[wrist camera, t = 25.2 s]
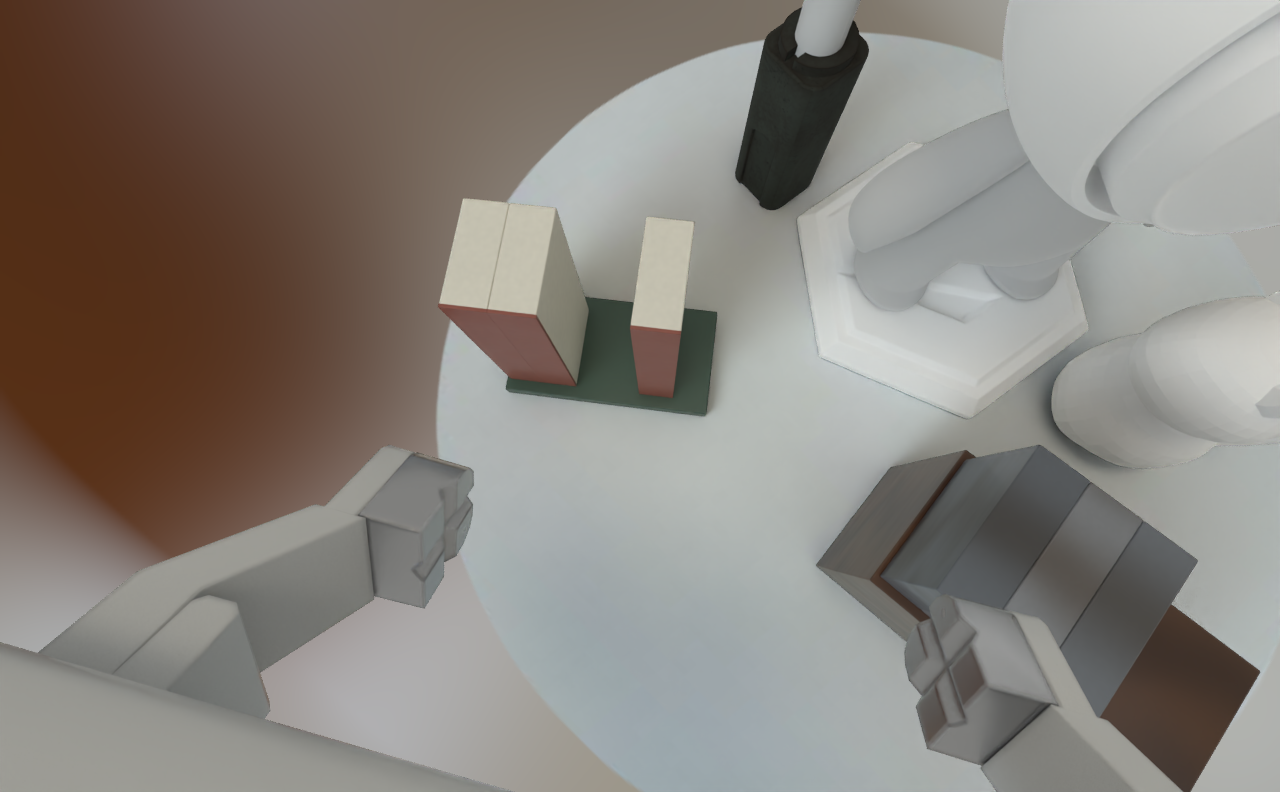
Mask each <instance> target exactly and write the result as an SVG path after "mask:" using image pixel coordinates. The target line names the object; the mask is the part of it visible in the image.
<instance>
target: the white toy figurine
mask: <svg viewBox="0 0 1280 792" xmlns="http://www.w3.org/2000/svg"><path fill="white" fill-rule="evenodd" d="M1003 78H1004V87H1005V94H1006V99H1007V104H1008V109H1007V110H1004V111H1001V112H998V113H995V114H992V115H989V116H986V117H984V118H981V119H979V120H976V121H974V122H971V123H969V124H967V125H965V126H962V127H960V128H958V129H956V130H954V131H952V132H950V133H947V134H945V135H943V136H941V137H939V138H937V139H935V140H934V141H932V142H930V143H928V144H926V145H922V144H918V143H912V142H909V143H907V144H906V145H904V146H903V147H901V148H900V149H898V150H897V151H895V152H894V153H892V154H891V155H889V156H888V157H886V158H885V159H883V160H882V161H880V162H879V163H877V164H876V165H874V166H873V167H871V168H870V169H868V170H867V171H865V172H864V173H862V174H861V175H860V176H858V177H857V178H855V179H854V180H852V181H851V182H849V183H848V184H846V185H845V186H843V187H842V188H840V189H839V190H837V191H836V192H834V193H833V194H831V195H830V196H828V197H827V198H825V199H824V200H822V201H821V202H819V203H818V204H816V205H815V206H813V207H812V208H810V209H809V210H807V211H806V212H804V213H803V214H801V215H800V216H799V217H798V218H797V227H798V233H799V239H800V245H801V251H802V257H803V263H804V269H805V275H806V281H807V288H808V294H809V300H810V306H811V312H812V318H813V324H814V330H815V336H816V342H817V348H818V353H819V357H821V358H823V359H825V360H828V361H830V362H832V363H835V364H837V365H839V366H842V367H844V368H847V369H849V370H851V371H854V372H856V373H858V374H861V375H863V376H865V377H868V378H870V379H873V380H875V381H877V382H880V383H882V384H884V385H887V386H889V387H891V388H894V389H896V390H899V391H901V392H903V393H906V394H908V395H910V396H913V397H915V398H918V399H920V400H922V401H925V402H927V403H929V404H932V405H934V406H936V407H939V408H941V409H944V410H946V411H948V412H951V413H953V414H955V415H958V416H960V417H963V418H965V419H970V418H972V417H974V416H975V415H976V414H978V413H979V412H981V411H982V410H983V409H985V408H986V407H987V406H989V405H990V404H991V403H993V402H994V401H995V400H997V399H998V398H999V397H1001V396H1002V395H1003V394H1005V393H1006V392H1007V391H1009V390H1010V389H1011V388H1013V387H1014V386H1015V385H1017V384H1018V383H1019V382H1021V381H1022V380H1023V379H1025V378H1026V377H1027V376H1029V375H1030V374H1031V373H1033V372H1034V371H1035V370H1037V369H1038V368H1039V367H1041V366H1042V365H1043V364H1045V363H1046V362H1047V361H1049V360H1050V359H1051V358H1053V357H1054V356H1055V355H1057V354H1058V353H1059V352H1061V351H1062V350H1063V349H1065V348H1066V347H1067V346H1069V345H1070V344H1071V343H1073V342H1074V341H1075V340H1077V339H1078V338H1079V337H1081V336H1082V335H1083V334H1085V333H1086V332H1087V331H1088V323H1087V318H1086V314H1085V311H1084V307H1083V304H1082V300H1081V297H1080V293H1079V290H1078V286H1077V283H1076V279H1075V276H1074V272H1073V269H1072V265H1071V262H1070V258H1071V257H1072V256H1074V255H1075V254H1076V253H1077V252H1078V251H1079V250H1081V249H1082V248H1083V247H1084V246H1085V245H1086V244H1088V243H1089V242H1090V241H1091V240H1092V239H1093V238H1095V237H1096V236H1097V235H1098V234H1099V233H1101V232H1102V231H1103V230H1104V229H1105V228H1106V227H1107V226H1108V225H1109V224H1110V223H1111V222H1115V223H1130V224H1141V223H1143V224H1144V225H1145V226H1147V227H1152V226H1156V227H1157V228H1159V229H1161V230H1163V231H1165V232H1169V233H1173V234H1180V235H1217V234H1227V233H1236V232H1243V231H1250V230H1256V229H1262V228H1267V227H1273V226H1278V225H1280V0H1009V2H1008V8H1007V13H1006V19H1005V28H1004V37H1003Z"/></svg>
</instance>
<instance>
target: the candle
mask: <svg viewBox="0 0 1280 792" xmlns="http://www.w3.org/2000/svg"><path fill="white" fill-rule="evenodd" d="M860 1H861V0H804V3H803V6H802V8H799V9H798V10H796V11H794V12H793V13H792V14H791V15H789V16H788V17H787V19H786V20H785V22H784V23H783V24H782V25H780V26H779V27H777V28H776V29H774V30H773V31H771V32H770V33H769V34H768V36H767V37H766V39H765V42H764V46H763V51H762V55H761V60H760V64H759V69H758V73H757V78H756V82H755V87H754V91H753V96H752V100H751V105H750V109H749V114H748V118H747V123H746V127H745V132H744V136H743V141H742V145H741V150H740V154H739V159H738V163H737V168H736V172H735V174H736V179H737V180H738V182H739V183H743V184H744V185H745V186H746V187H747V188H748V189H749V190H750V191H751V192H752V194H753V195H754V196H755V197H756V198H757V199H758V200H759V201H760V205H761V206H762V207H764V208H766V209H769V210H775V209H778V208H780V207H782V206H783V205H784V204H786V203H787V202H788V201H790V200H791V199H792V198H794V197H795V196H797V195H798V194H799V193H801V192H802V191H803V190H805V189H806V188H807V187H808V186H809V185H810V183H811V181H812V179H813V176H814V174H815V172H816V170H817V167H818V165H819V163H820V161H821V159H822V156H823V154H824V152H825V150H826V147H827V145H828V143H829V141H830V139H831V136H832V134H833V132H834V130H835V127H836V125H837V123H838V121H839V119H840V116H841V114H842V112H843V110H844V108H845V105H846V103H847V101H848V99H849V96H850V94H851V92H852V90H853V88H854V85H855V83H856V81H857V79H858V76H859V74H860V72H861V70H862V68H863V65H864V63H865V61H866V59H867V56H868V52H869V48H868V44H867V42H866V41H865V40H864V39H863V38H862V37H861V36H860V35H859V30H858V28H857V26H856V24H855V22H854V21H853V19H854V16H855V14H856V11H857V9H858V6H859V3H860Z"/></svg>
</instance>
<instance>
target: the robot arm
mask: <svg viewBox="0 0 1280 792" xmlns="http://www.w3.org/2000/svg"><path fill="white" fill-rule="evenodd" d="M473 486H474V471H473V470H472V469H471V468H469V467H465V466H462V465H458V464H455V463H452V462H448V461H445V460H441V459H438V458H435V457H431V456H428V455H424V454H421V453H415V452H412V451H408V450H405V449H401V448H398V447H395V446H391V445H388V446H386V447H383V448H381V449H380V450H379V451H378V452H377V453H376V454H375V455H374V456H373V457H372V458H371V459H370V460H369V461H368V462H367V463H366V464H365V465H364V466H363V467H362V468H361V469H360V470H359V471H358V472H357V473H356V474H355V475H354V476H353V478H351V480H349V481H348V482H347V484H346V485H345V486H344V487H343V488H342V489H341V490H340V491H339V492H338V493H337V494H336V495H335V496H334V497H333V498H332V499H331V500H330V501H329V502H328V503H327V504H326V505H325V506H320V505H316V504H315V505H312V506H310V507H307V508H304V509H302V510H299V511H297V512H294V513H291V514H288V515H286V516H283V517H280V518H278V519H275V520H272V521H270V522H267V523H265V524H262V525H259V526H256V527H254V528H252V529H249V530H246V531H243V532H240V533H238V534H235V535H232V536H230V537H227V538H224V539H222V540H219V541H216V542H214V543H211V544H208V545H206V546H203V547H200V548H198V549H195V550H193V551H190V552H187V553H185V554H182V555H179V556H177V557H174V558H171V559H169V560H166V561H163V562H161V563H158V564H155V565H153V566H150V567H147V568H145V569H142V570H140V571H137V572H136V573H135V574H133V575H132V576H131V577H130V578H128V579H127V580H126V581H125V582H124V583H122V584H121V585H120V586H119V587H117V588H116V589H115V590H114V591H113V592H111V593H110V594H109V595H108V596H107V597H105V598H104V599H103V600H102V601H100V602H99V603H98V604H97V605H96V606H94V607H93V608H92V609H91V610H89V611H88V612H87V613H86V614H85V615H83V616H82V617H81V618H80V619H78V620H77V621H76V622H75V623H74V624H72V625H71V626H70V627H69V628H67V629H66V630H65V631H64V632H63V633H61V634H60V635H59V636H58V637H56V638H55V639H54V640H53V641H52V642H50V643H49V644H48V645H47V646H46V647H44V648H43V649H42V650H41V651H39V652H38V653H35V652H32V651H29V650H25V649H22V648H19V647H15V646H12V645H8V644H4V643H2V642H0V792H513V791H509V790H506V789H503V788H499V787H496V786H492V785H489V784H486V783H482V782H479V781H475V780H471V779H468V778H465V777H461V776H458V775H455V774H451V773H448V772H444V771H441V770H437V769H434V768H431V767H427V766H424V765H420V764H417V763H413V762H410V761H406V760H403V759H400V758H396V757H392V756H389V755H386V754H382V753H379V752H376V751H372V750H369V749H365V748H362V747H358V746H355V745H352V744H348V743H344V742H341V741H338V740H334V739H331V738H328V737H324V736H321V735H317V734H313V733H310V732H307V731H303V730H300V729H297V728H293V727H290V726H286V725H283V724H280V723H276V722H273V721H269V720H266V719H265V717H266V716H267V714H268V713H269V712H270V704H269V698H268V695H267V693H266V690H265V687H264V684H263V680H262V677H261V675H260V672H262V671H263V670H265V669H266V668H268V667H269V666H271V665H273V664H274V663H276V662H277V661H279V660H281V659H282V658H283V657H285V656H287V655H288V654H290V653H291V652H293V651H295V650H296V649H298V648H299V647H301V646H302V645H304V644H305V643H307V642H309V641H310V640H312V639H313V638H315V637H316V636H318V635H319V634H321V633H322V632H324V631H326V630H327V629H329V628H330V627H332V626H334V625H335V624H337V623H338V622H340V621H341V620H343V619H344V618H346V617H347V616H349V615H351V614H352V613H354V612H355V611H357V610H358V609H360V608H362V607H363V606H365V605H366V604H368V603H369V602H371V601H372V600H374V596H376V597H380V598H384V599H388V600H392V601H396V602H400V603H404V604H408V605H412V606H416V607H420V608H425V607H426V605H427V604H428V602H429V600H430V599H431V597H432V595H433V594H434V592H435V590H436V589H437V587H438V586H439V584H440V582H441V581H442V579H443V577H444V562H446V561H448V560H449V559H451V558H453V557H455V556H457V554H458V552H459V550H460V549H461V547H462V545H463V543H464V541H465V539H466V536H467V533H468V531H469V528H470V524H471V519H472V515H473V504H472V502H471V501H470V499H469V498H468V496H467V495H468V494H469V492H470V491H471V489H472V487H473ZM929 610H930V613H931V617H932V618H930V619H927V620H925V621H922V622H919V623H917V624H916V625H915V627H914V628H913V630H912V631H911V633H910V634H909V635H908V639H907V643H906V648H905V666H906V670H907V674H908V678H909V681H910V682H911V683H912V684H913V686H914V687H915V688H916V689H917V691H918V692H919V693H920V694H921V695H922V696H921V698H920V700H919V702H918V704H917V705H916V709H917V713H918V716H919V720H920V724H921V727H922V731H923V735H924V739H925V742H926V746H927V749H930V750H933V751H936V752H939V753H943V754H946V755H949V756H952V757H956V758H959V759H962V760H965V761H969V762H972V763H975V764H978V765H982V767H981V770H982V771H983V773H984V774H985V775H986V777H987V778H988V780H989V781H990V783H991V784H992V785H993V787H994V788H995V790H996V791H997V792H1183V791H1182V790H1181V789H1180V788H1179V787H1178V786H1177V785H1176V784H1174V783H1173V782H1172V781H1171V780H1170V779H1169V778H1168V777H1167V776H1166V775H1165V774H1164V773H1163V772H1162V771H1161V770H1160V769H1159V768H1157V767H1156V766H1155V765H1154V764H1153V763H1152V762H1151V761H1150V760H1149V759H1148V758H1147V757H1146V756H1145V755H1144V754H1143V753H1142V752H1141V751H1139V750H1138V749H1137V748H1136V747H1135V746H1134V745H1133V744H1132V743H1131V742H1130V741H1129V740H1128V739H1127V738H1126V737H1125V736H1124V735H1122V734H1121V733H1120V732H1119V731H1118V730H1117V729H1116V728H1115V727H1114V726H1113V725H1112V724H1111V723H1110V722H1109V721H1108V720H1105V719H1102V718H1098V717H1097V716H1096V715H1095V713H1094V711H1093V709H1092V707H1091V705H1090V704H1089V702H1088V700H1087V698H1086V696H1085V694H1084V693H1083V691H1082V689H1081V687H1080V685H1079V683H1078V681H1077V680H1076V678H1075V676H1074V674H1073V672H1072V670H1071V669H1070V667H1069V665H1068V663H1067V661H1066V659H1065V657H1064V656H1063V654H1062V652H1061V650H1060V648H1059V646H1058V645H1057V643H1056V641H1055V639H1054V637H1053V635H1052V634H1051V632H1050V630H1049V628H1048V626H1047V625H1046V624H1045V623H1044V622H1043V621H1042V620H1041V619H1039V618H1038V617H1034V616H1030V615H1026V614H1022V613H1018V612H1014V611H1010V610H1003V609H1001V608H998V607H994V606H990V605H986V604H982V603H978V602H974V601H970V600H967V599H963V598H959V597H955V596H951V595H947V594H943V595H941V596H939V597H937V598H936V599H935V600H934V601H933V603H932V604H931V605H930V606H929Z"/></svg>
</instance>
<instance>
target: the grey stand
mask: <svg viewBox="0 0 1280 792" xmlns="http://www.w3.org/2000/svg"><path fill="white" fill-rule="evenodd" d="M1197 562H1198V560H1197V559H1196V558H1194V557H1193V556H1192V555H1190V554H1189V553H1187V552H1186V551H1185V550H1183V549H1182V548H1181V547H1179V546H1178V545H1176V544H1175V543H1174V542H1172V541H1171V540H1170V539H1168V538H1167V537H1166V536H1164V535H1163V534H1161V533H1160V532H1159V531H1157V530H1156V529H1155V528H1153V527H1152V526H1151V525H1149V524H1148V523H1146V522H1144V521H1143V520H1142V519H1141V518H1140V517H1138V516H1137V515H1135V514H1134V513H1133V512H1131V511H1130V510H1129V509H1127V508H1126V507H1125V506H1123V505H1122V504H1120V503H1119V502H1118V501H1116V500H1115V499H1114V498H1112V497H1111V496H1109V495H1108V494H1107V493H1105V492H1104V491H1103V490H1101V489H1100V488H1099V487H1097V486H1096V485H1094V484H1093V483H1091V482H1090V481H1089V480H1088V479H1086V478H1085V477H1084V476H1082V475H1081V474H1080V473H1078V472H1077V471H1075V470H1074V469H1073V468H1071V467H1070V466H1069V465H1067V464H1066V463H1064V462H1063V461H1062V460H1060V459H1059V458H1058V457H1056V456H1055V455H1054V454H1052V453H1051V452H1049V451H1048V450H1047V449H1045V448H1044V447H1043V446H1041V445H1036V446H1031V447H1026V448H1022V449H1017V450H1012V451H1007V452H1002V453H997V454H992V455H987V456H982V457H977V458H976V457H975V456H974V455H972V454H971V453H970V452H968V451H967V450H964V451H960V452H956V453H951V454H947V455H943V456H938V457H934V458H930V459H926V460H921V461H917V462H913V463H908V464H904V465H900V466H895V467H891V468H890V469H889V470H888V471H887V473H886V474H885V475H884V477H883V478H882V479H881V481H880V482H879V483H878V485H877V486H876V487H875V489H874V490H873V491H872V492H871V494H870V495H869V496H868V498H867V499H866V500H865V502H864V503H863V504H862V506H861V507H860V508H859V509H858V511H857V512H856V513H855V515H854V516H853V517H852V519H851V520H850V521H849V523H848V524H847V525H846V527H845V528H844V529H843V530H842V532H841V533H840V534H839V536H838V537H837V538H836V540H835V541H834V542H833V544H832V545H831V546H830V548H829V549H828V550H827V551H826V553H825V554H824V555H823V557H822V558H821V559H820V561H819V562H818V563H817V565H816V566H817V567H818V568H819V569H821V570H822V571H823V572H824V573H825V574H826V575H828V576H829V577H830V578H831V579H832V580H834V581H835V582H836V583H837V584H838V585H840V586H841V587H842V588H843V589H844V590H846V591H847V592H848V593H849V594H850V595H852V596H853V597H854V598H855V599H856V600H857V601H859V602H860V603H861V604H862V605H863V606H865V607H866V608H867V609H868V610H869V611H871V612H872V613H873V614H874V615H875V616H877V617H878V618H879V619H880V620H881V621H883V622H884V623H885V624H886V625H887V626H888V627H890V628H891V629H892V630H893V631H894V632H896V633H897V634H898V635H899V636H900V637H902V638H903V639H904V640H905V641H906V642H907V639H908V635H909V634H910V633H911V631H912V630H913V628H914V627H915V625H916V624H917V623H919V622H922V621H925V620H927V619H930V618H932V617H931V613H930V610H929V606H930V605H931V604H932V603H933V601H934V600H935V599H936V598H937V597H939V596H941V595H943V594H947V595H951V596H955V597H959V598H963V599H967V600H970V601H974V602H978V603H982V604H986V605H990V606H994V607H998V608H1001V609H1003V610H1010V611H1014V612H1018V613H1022V614H1026V615H1030V616H1034V617H1038V618H1039V619H1041V620H1042V621H1043V622H1044V623H1045V624H1046V625H1047V626H1048V628H1049V630H1050V632H1051V634H1052V635H1053V637H1054V639H1055V641H1056V643H1057V645H1058V646H1059V648H1060V650H1061V652H1062V654H1063V656H1064V657H1065V659H1066V661H1067V663H1068V665H1069V667H1070V669H1071V670H1072V672H1073V674H1074V676H1075V678H1076V680H1077V681H1078V683H1079V685H1080V687H1081V689H1082V691H1083V693H1084V694H1085V696H1086V698H1087V700H1088V702H1089V704H1090V705H1091V707H1092V709H1093V711H1094V713H1095V715H1096V716H1097V717H1098V718H1102V719H1105V720H1108V721H1109V722H1110V723H1111V724H1112V725H1113V726H1114V727H1115V728H1116V729H1117V730H1118V731H1119V732H1120V733H1121V734H1122V735H1124V736H1125V737H1126V738H1127V739H1128V740H1129V741H1130V742H1131V743H1132V744H1133V745H1134V746H1135V747H1136V748H1137V749H1138V750H1139V751H1141V752H1142V753H1143V754H1144V755H1145V756H1146V757H1147V758H1148V759H1149V760H1150V761H1151V762H1152V763H1153V764H1154V765H1155V766H1156V767H1157V768H1159V769H1160V770H1161V771H1162V772H1163V773H1164V774H1165V775H1166V776H1167V777H1168V778H1169V779H1170V780H1171V781H1172V782H1173V783H1174V784H1176V785H1177V786H1178V787H1179V788H1180V789H1181V790H1182V791H1183V792H1190V791H1191V790H1192V788H1193V786H1194V785H1195V783H1196V781H1197V780H1198V778H1199V776H1200V774H1201V773H1202V771H1203V769H1204V768H1205V766H1206V764H1207V762H1208V761H1209V759H1210V757H1211V756H1212V754H1213V752H1214V750H1215V749H1216V747H1217V745H1218V744H1219V742H1220V740H1221V738H1222V737H1223V735H1224V733H1225V732H1226V730H1227V728H1228V727H1229V725H1230V723H1231V721H1232V720H1233V718H1234V716H1235V715H1236V713H1237V711H1238V709H1239V708H1240V706H1241V704H1242V703H1243V701H1244V699H1245V697H1246V696H1247V694H1248V692H1249V691H1250V689H1251V687H1252V686H1253V684H1254V682H1255V680H1256V679H1257V677H1258V675H1259V674H1260V671H1259V670H1258V669H1257V668H1255V667H1254V666H1253V665H1251V664H1250V663H1249V662H1247V661H1246V660H1245V659H1243V658H1242V657H1241V656H1239V655H1238V654H1237V653H1235V652H1234V651H1233V650H1231V649H1230V648H1229V647H1227V646H1226V645H1225V644H1223V643H1222V642H1221V641H1219V640H1218V639H1217V638H1215V637H1214V636H1213V635H1211V634H1210V633H1209V632H1207V631H1206V630H1205V629H1203V628H1202V627H1201V626H1199V625H1198V624H1197V623H1195V622H1194V621H1193V620H1192V619H1190V618H1189V617H1188V616H1186V615H1185V614H1184V613H1182V612H1181V611H1180V610H1178V609H1177V608H1176V607H1174V606H1173V605H1172V604H1171V603H1172V602H1173V600H1174V599H1175V597H1176V595H1177V594H1178V592H1179V591H1180V589H1181V587H1182V586H1183V584H1184V583H1185V581H1186V580H1187V578H1188V576H1189V575H1190V573H1191V572H1192V570H1193V568H1194V567H1195V565H1196V564H1197Z"/></svg>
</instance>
